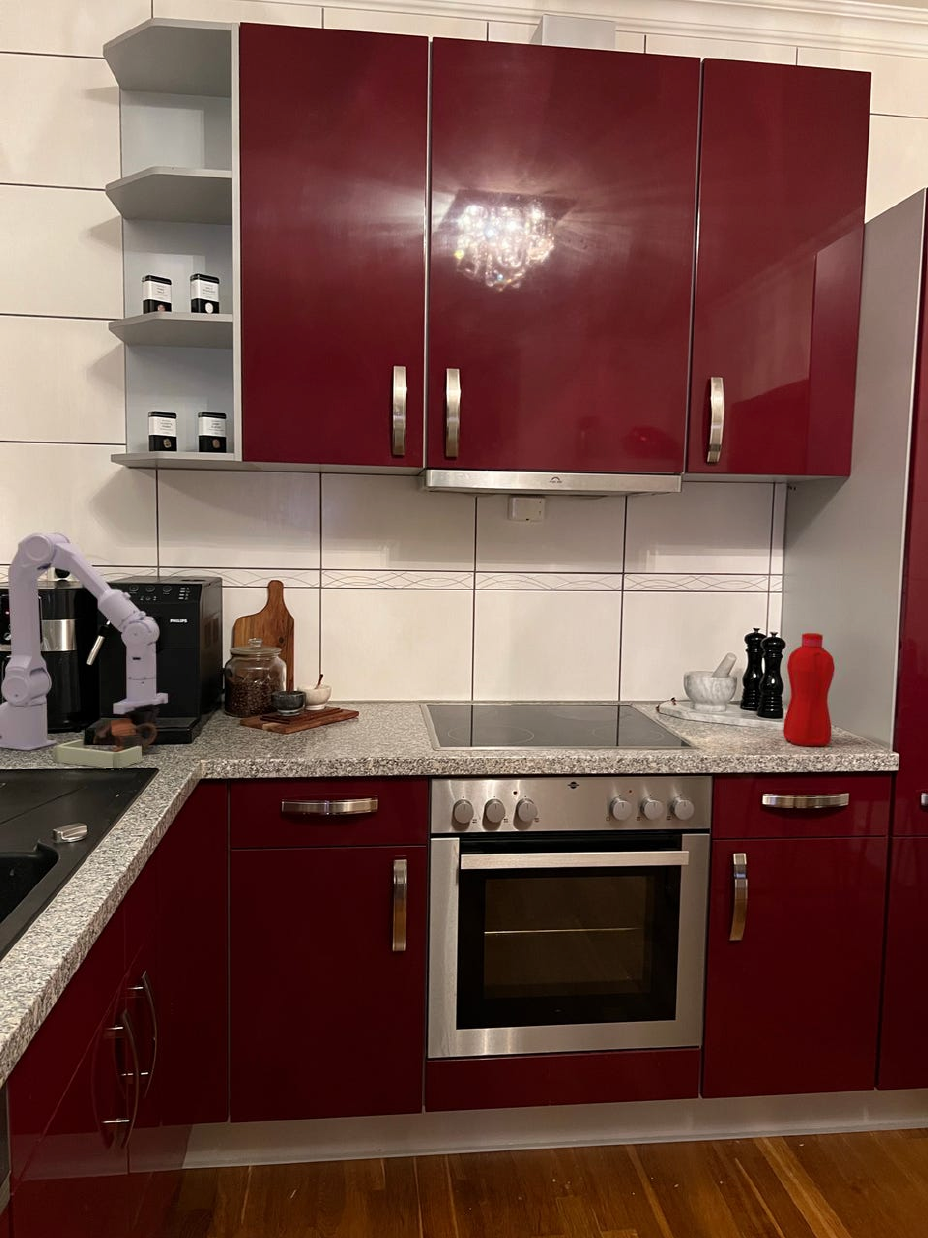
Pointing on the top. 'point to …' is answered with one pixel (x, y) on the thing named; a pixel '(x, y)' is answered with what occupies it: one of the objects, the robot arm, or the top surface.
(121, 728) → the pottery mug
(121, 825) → the top surface
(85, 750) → the tray
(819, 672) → the water bottle
